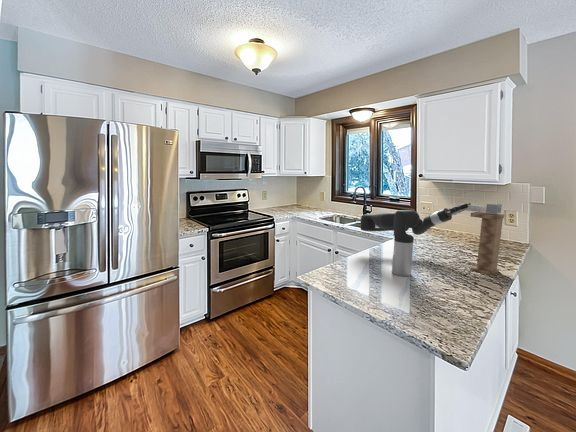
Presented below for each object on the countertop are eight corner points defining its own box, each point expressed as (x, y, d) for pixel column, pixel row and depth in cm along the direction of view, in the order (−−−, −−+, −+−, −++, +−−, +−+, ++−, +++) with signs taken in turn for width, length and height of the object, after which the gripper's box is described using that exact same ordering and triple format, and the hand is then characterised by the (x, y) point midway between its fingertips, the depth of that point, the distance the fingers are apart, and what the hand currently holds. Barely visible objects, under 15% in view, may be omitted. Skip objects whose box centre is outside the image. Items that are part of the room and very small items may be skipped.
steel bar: (456, 209, 166) (456, 201, 165) (460, 208, 169) (461, 201, 168) (496, 213, 150) (497, 205, 149) (500, 213, 153) (501, 204, 152)
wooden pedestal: (465, 268, 162) (470, 212, 157) (473, 265, 168) (479, 211, 163) (490, 275, 152) (497, 215, 147) (498, 271, 158) (505, 214, 153)
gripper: (449, 221, 179) (478, 210, 165) (437, 223, 171) (466, 212, 157) (444, 210, 181) (472, 198, 168) (431, 211, 173) (460, 199, 159)
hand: (469, 205), depth 163 cm, fingers closed on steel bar, 3 cm apart
